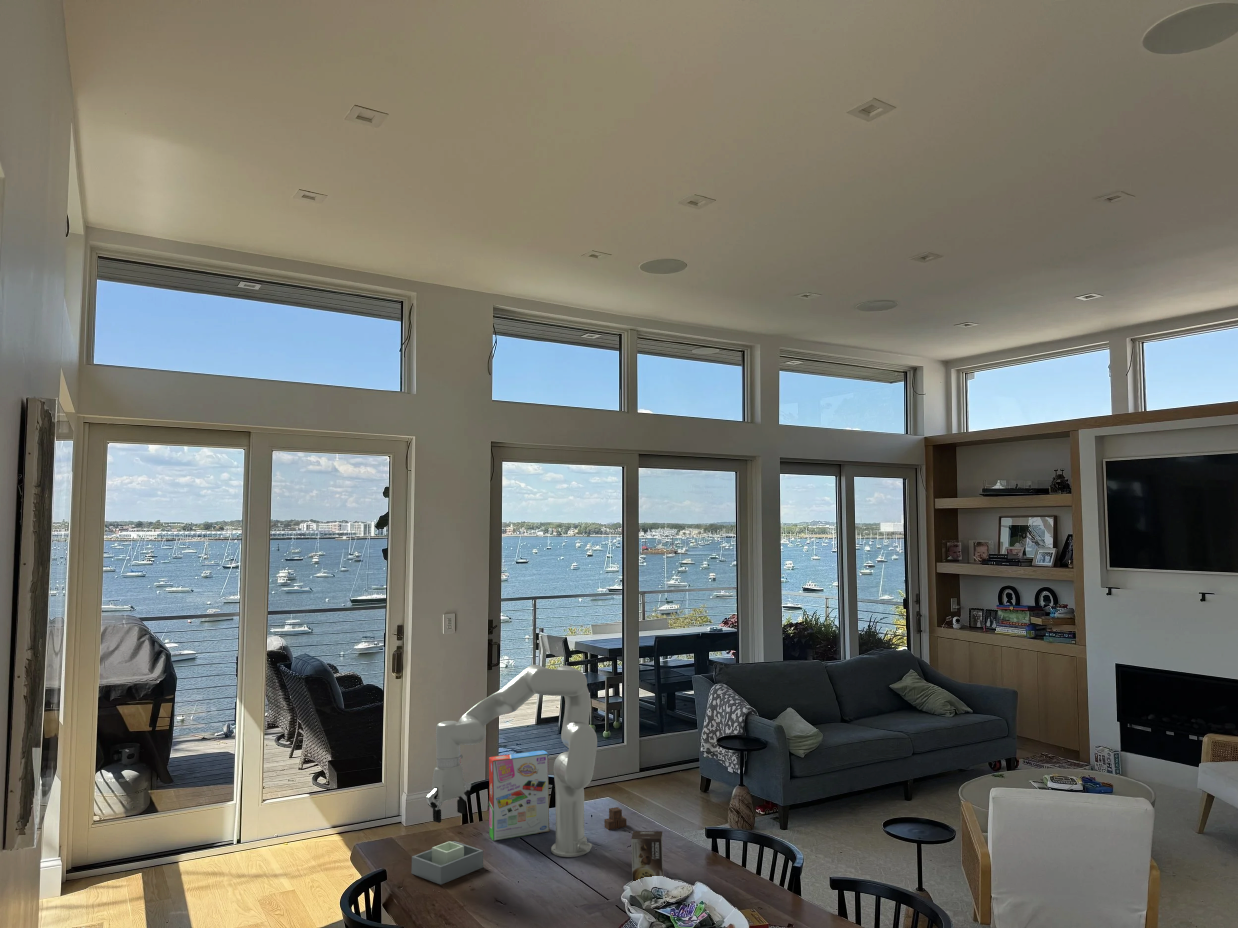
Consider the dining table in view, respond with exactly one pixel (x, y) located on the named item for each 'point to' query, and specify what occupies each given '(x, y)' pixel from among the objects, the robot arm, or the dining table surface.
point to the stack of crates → (615, 819)
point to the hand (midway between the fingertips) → (449, 817)
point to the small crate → (447, 853)
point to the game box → (518, 794)
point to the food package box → (647, 854)
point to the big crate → (447, 865)
